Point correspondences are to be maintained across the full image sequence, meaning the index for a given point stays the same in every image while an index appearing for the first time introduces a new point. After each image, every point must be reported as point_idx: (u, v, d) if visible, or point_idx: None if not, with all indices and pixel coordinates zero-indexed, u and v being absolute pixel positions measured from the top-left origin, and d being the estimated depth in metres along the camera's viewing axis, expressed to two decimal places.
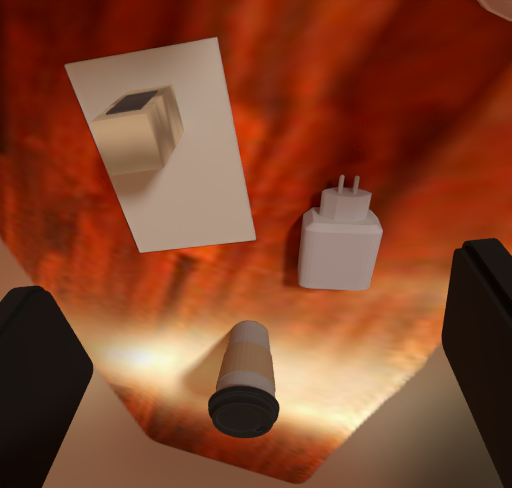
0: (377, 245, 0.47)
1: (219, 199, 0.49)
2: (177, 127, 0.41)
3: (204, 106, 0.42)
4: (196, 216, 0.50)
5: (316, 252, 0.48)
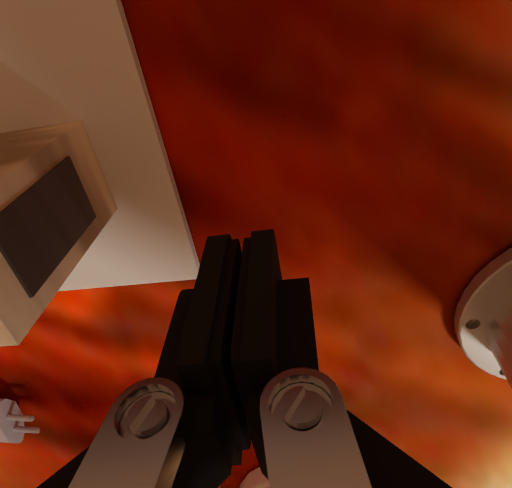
0: None
1: None
2: None
3: (92, 253, 0.24)
4: None
5: None
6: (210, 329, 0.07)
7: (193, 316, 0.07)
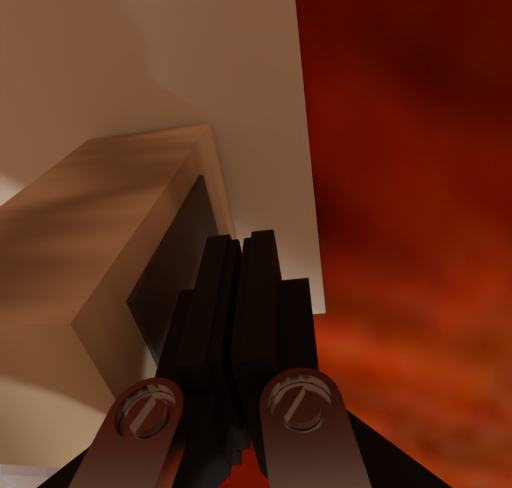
0: None
1: None
2: None
3: None
4: None
5: None
6: (211, 329, 0.07)
7: (193, 316, 0.07)
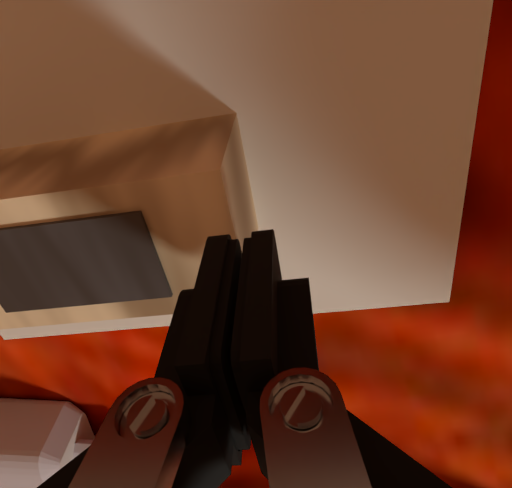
0: None
1: None
2: None
3: (316, 272, 0.19)
4: None
5: None
6: (210, 329, 0.07)
7: (193, 316, 0.07)
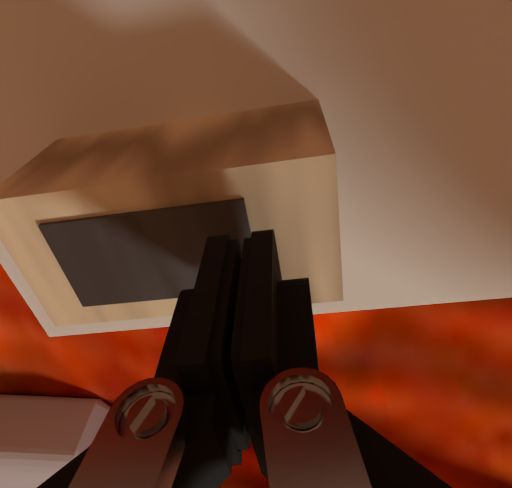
0: None
1: None
2: None
3: (381, 266, 0.18)
4: None
5: (26, 476, 0.23)
6: (210, 329, 0.07)
7: (193, 316, 0.07)
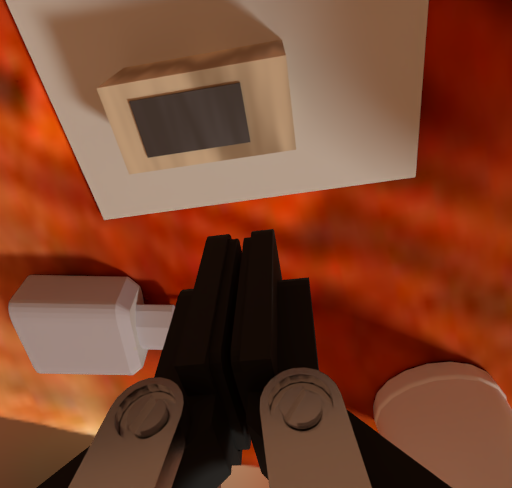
0: (113, 374, 0.37)
1: None
2: None
3: (327, 155, 0.28)
4: None
5: (81, 322, 0.33)
6: (211, 329, 0.07)
7: (193, 316, 0.07)
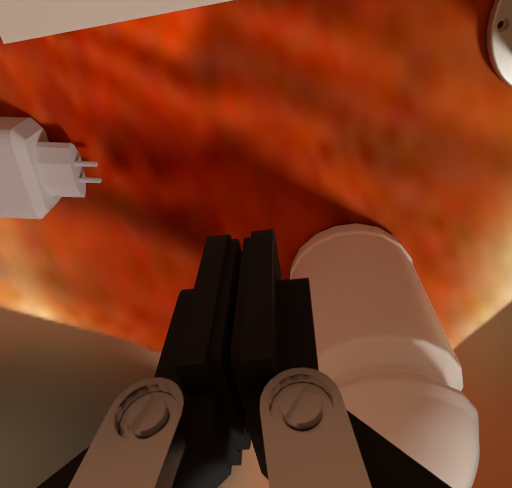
0: (21, 217, 0.39)
1: None
2: None
3: None
4: None
5: None
6: (210, 330, 0.07)
7: (193, 316, 0.07)
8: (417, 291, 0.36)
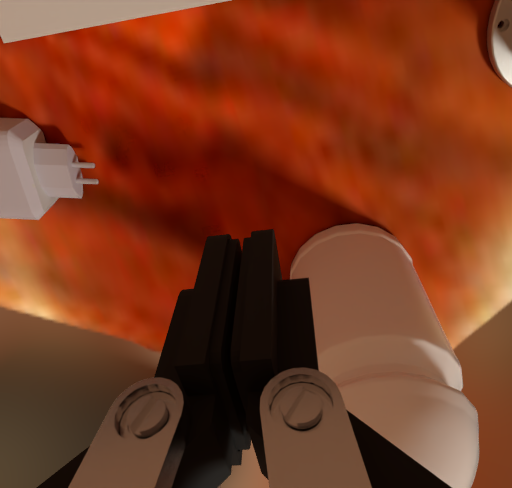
0: (18, 217, 0.40)
1: None
2: None
3: None
4: None
5: None
6: (210, 329, 0.07)
7: (193, 316, 0.07)
8: (417, 291, 0.36)
